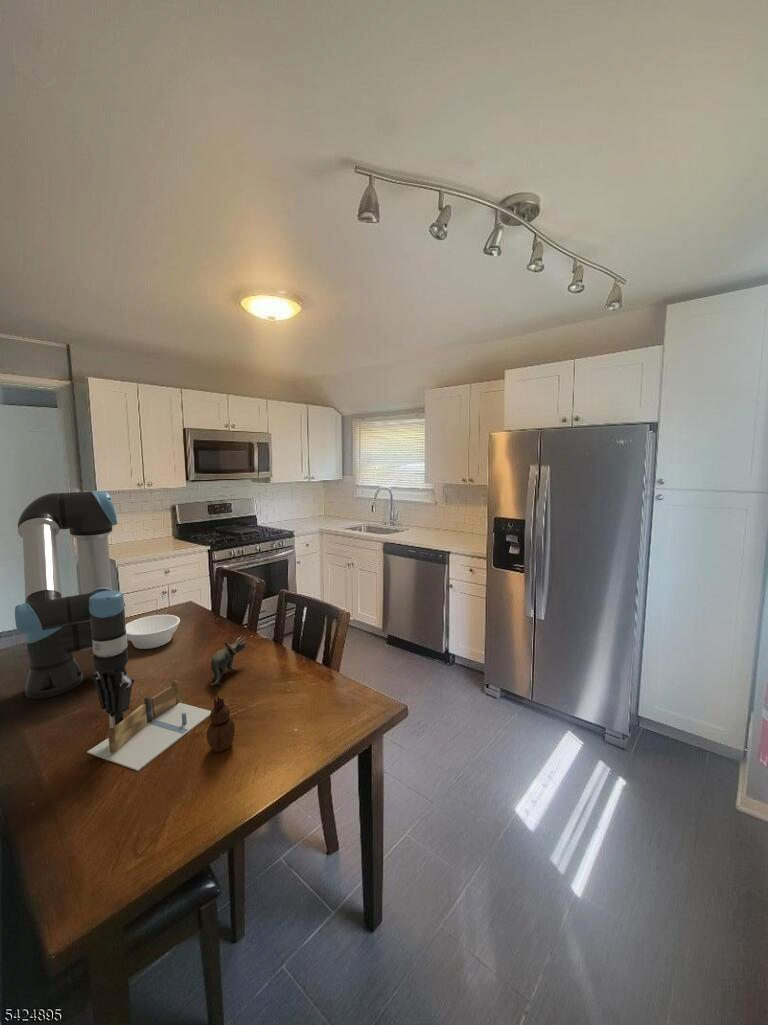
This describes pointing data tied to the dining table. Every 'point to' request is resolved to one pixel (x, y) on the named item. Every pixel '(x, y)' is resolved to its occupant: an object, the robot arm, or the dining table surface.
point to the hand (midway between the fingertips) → (117, 734)
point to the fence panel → (127, 728)
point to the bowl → (152, 630)
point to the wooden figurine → (220, 727)
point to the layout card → (153, 737)
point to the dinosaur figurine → (225, 659)
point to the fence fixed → (162, 701)
